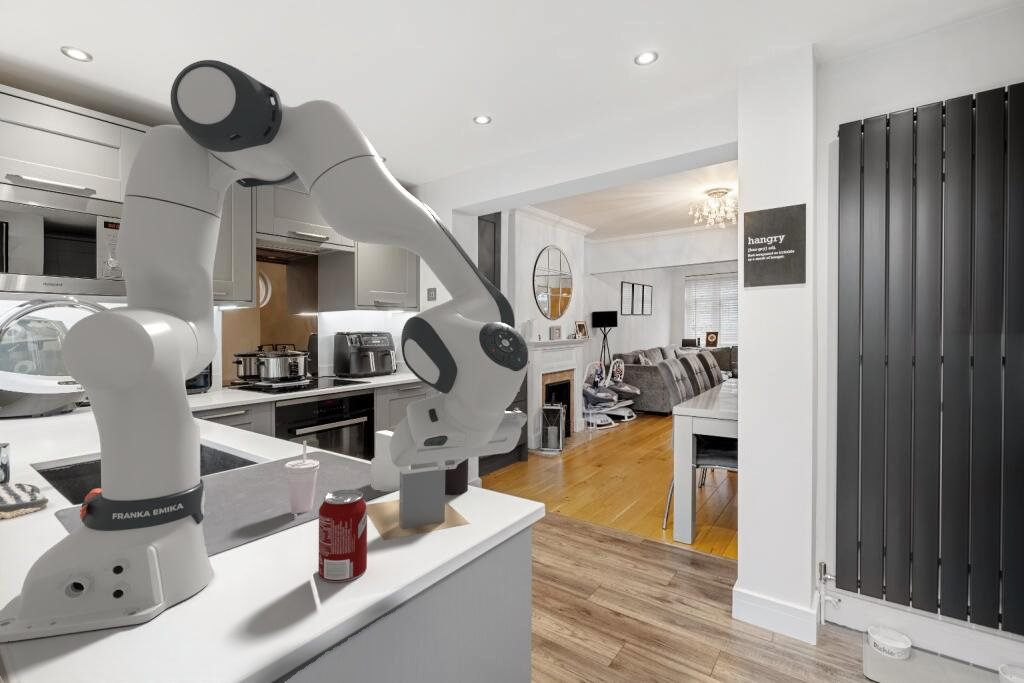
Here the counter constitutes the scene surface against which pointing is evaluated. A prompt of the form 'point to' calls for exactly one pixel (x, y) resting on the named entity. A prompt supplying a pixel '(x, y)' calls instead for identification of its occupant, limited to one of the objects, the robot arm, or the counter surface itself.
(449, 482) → the bottle
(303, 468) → the smoothie
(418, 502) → the tile
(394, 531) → the mat
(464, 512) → the counter surface
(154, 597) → the robot arm
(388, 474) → the cylinder with rectangular tab
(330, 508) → the soda can
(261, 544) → the counter surface
